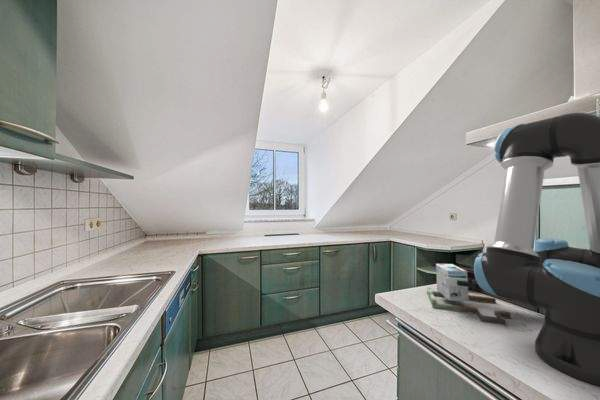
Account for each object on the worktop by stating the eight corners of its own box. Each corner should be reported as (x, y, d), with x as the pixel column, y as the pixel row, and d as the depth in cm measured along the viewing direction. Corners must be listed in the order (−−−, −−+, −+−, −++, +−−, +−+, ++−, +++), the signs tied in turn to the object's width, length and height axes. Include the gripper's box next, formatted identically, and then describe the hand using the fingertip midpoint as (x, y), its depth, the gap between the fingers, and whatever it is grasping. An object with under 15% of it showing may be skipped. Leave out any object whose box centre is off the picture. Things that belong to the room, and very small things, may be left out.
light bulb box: (469, 301, 83) (468, 271, 83) (449, 301, 84) (447, 270, 84) (454, 290, 93) (453, 263, 94) (436, 290, 94) (435, 263, 95)
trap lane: (519, 327, 72) (519, 318, 72) (435, 314, 80) (435, 306, 80) (488, 296, 94) (488, 290, 94) (425, 288, 103) (425, 283, 103)
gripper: (533, 308, 71) (449, 297, 79) (499, 282, 93) (436, 276, 101) (533, 283, 71) (449, 275, 79) (499, 263, 93) (436, 258, 101)
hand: (442, 275), depth 90 cm, fingers closed on light bulb box, 11 cm apart
